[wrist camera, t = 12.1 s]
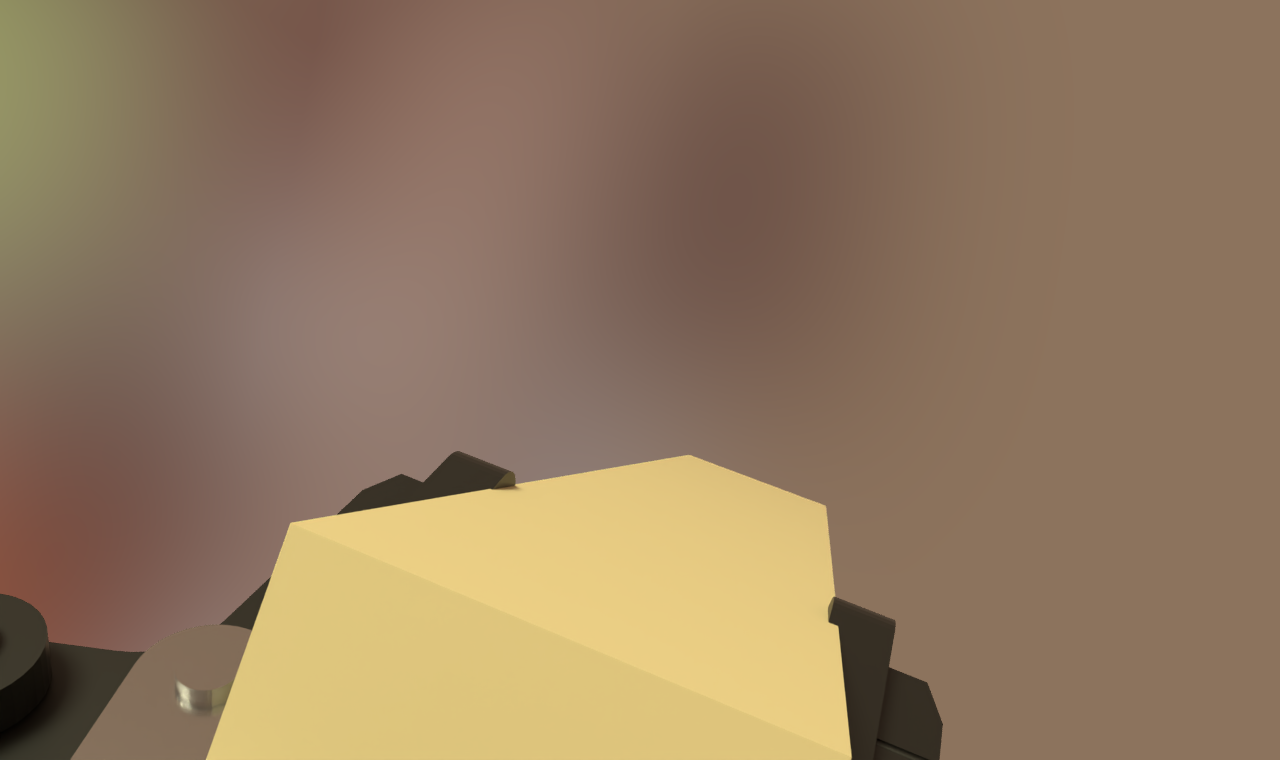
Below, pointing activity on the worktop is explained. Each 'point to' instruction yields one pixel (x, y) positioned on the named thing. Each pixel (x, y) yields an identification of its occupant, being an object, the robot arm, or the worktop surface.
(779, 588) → the film box
